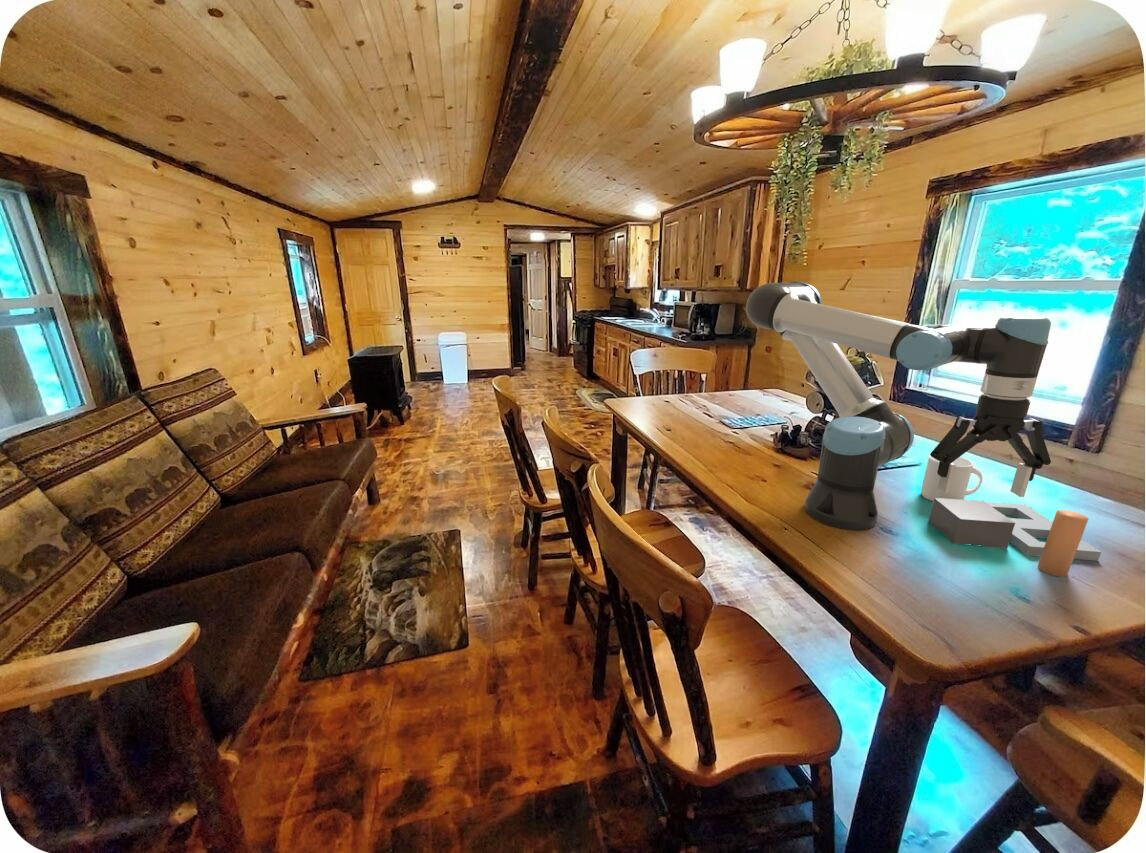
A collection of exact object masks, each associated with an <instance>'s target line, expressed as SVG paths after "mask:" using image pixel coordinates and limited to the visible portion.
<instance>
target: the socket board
mask: <svg viewBox="0 0 1146 853" xmlns="http://www.w3.org/2000/svg"><path fill="white" fill-rule="evenodd" d="M985 502H986V503H987V504H989V505H990V506H992V507H993V508H994V509H996V510H997V511H999V512H1000V513H1002V514H1003V515H1005V516H1012V517H1008V518H1009V519H1010V520H1012V521H1013V522H1015V525H1014V529H1013V532H1012V535H1011V538H1010V541H1009V543H1010V544H1012V545H1013V546H1015V547H1016V548H1017V549H1018V550H1020V551H1021V552H1022V553H1024V554H1025V555H1027V556H1034V557H1035V556H1038V557H1041V555H1042V552H1043V549H1044V546H1045V543H1046V541H1040V540H1038V539H1039V538H1040V539H1041V538H1042V539H1047V538H1048V535H1049V532H1050V529H1051V526H1052V523H1053V520H1050V519H1049V518H1047V517H1045V516H1044V515H1042V514H1041V513H1039V512H1037V511H1036V510H1035V509H1033V508H1031V507H1030V506H1027V505H1026V504H1022V503H1021V504H1020V503H1004V502H1003V503H1002V502H990V501H989V502H988V501H985ZM1013 517H1015V518H1013ZM1037 538H1038V539H1037ZM1101 554H1102V551H1101V550H1099V549H1097V548H1096V547H1094V546H1092V545H1091V544H1090V543H1088V542H1086V541H1084V540H1083V539H1081V540H1080V543H1079V546H1078V548H1077V551H1076V554H1075V556H1074V559H1073V560H1075V559H1076V560H1085V561H1096V562H1097V561H1099V559H1100V558H1101Z"/></svg>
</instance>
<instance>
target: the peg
mask: <svg viewBox="0 0 1146 853" xmlns="http://www.w3.org/2000/svg"><path fill="white" fill-rule="evenodd" d="M1088 521H1089V517H1088V516H1086V515H1084V514H1082V513H1080V512H1077V511H1072V510H1066V509H1057V510H1056V512H1055V514H1054V518H1053V520H1052V522H1053V523H1052V526H1051V529H1050V532H1049V535H1048V538H1046V540H1045V542H1046V543H1045V546H1044V549H1043V552H1042V555H1041V556H1040V558H1039V561H1038V564H1037V568H1038V569H1039V570H1040V571H1042V572H1044V573H1046V574H1048V575H1052V576H1055V577H1063V578H1065V577H1067V576H1068V575H1069V572H1070V569H1071V566H1072V564H1073V562H1074V560H1075V559H1074V556H1075V554H1076V551H1077V548H1078V546H1079V543H1080V540H1082V538H1083V534H1084V532H1085V530H1086V527H1087V524H1088Z"/></svg>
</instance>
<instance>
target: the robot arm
mask: <svg viewBox="0 0 1146 853" xmlns="http://www.w3.org/2000/svg"><path fill="white" fill-rule="evenodd" d="M745 313H746V316H747V318H748V319H749V321H750V322H751V323H752V324H753V325H755V326H756V327H758V328H761V329H766V330H771V331H774V332H777V333H778V334H779V335H780V337H781V339H782V340H784V341H790V342H791V343H792V344H793V346H794V347H795V349H796V350H797V352H798V353H799V355H800V357H801V358H802V359H803V362H804V363H805V365H806V366H807V367H808V369H809V371H811V373H812V375H813V376H814V378H815V380H816V381H817V383H818V384H819V386H820V388H821V389H822V390H823V392H824V393H825V395H826V397H827V398H828V399H829V401H830V403H831V404H832V406H833V408H834V409H835V410H836V412H837V414H838V415H839V417H838V418H834V419H832V420H830V421H829V422H828V423H827V424H826V426H825V430H824V433H823V434H822V444H821V451H820V459H819V464H818V470H817V471H818V473H817V477H816V481H815V483H814V484H813V486H812V488H811V490H810V491H809V493H808V495H806V496H807V497H806V499H805V501H804V510H805V512H806V513H807V515H809V516H810V517H811V518H812V519H813V520H816V521H818V522H820V523H821V524H823V525H827V526H830V527H834V528H837V529H843V530H848V531H849V530H851V531H863V530H868V529H871V528H873V527H875V526H876V525H877V522H878V521H877V520H878V516H879V512H878V511H879V510H878V507H877V501H876V497H875V492H874V489H875V485H876V480H877V475H878V470H879V468H880V467H882V466H884V465H886V464H889V463H891V462H894V461H896V460H898V459H900V458H902V457H903V455H905V454H906V453H907V452H908V451H909V450H910V449H911V447H912V446H913V443H914V439H915V432H914V428H913V426H912V424H911V422H910V421H909V420H908V419H907V418H906V417H904V416H903V415H901V414H899V413H895V412H893V410H892V409H891V408H890V406H889V405H888V403H887V402H886V401H885V400H881V399H877V398H875V397H874V396H873V394H872V393H871V392H870V389H869V388H868V387H867V385H866V384H865V382H864V380H862V378H861V376H860V375H859V374H858V372H857V370H855V367H854V366H853V365H852V363H851V362H850V361H849V359H848V358H847V356H846V355H845V353H844V352H843V350H842V349H841V347H840V346H843V347H847V348H851V349H854V350H857V351H862V352H866V353H868V354H873V355H876V356H879V357H884V358H887V359H891V360H894V361H897V362H899V364H901V365H902V366H903V367H905V368H907V369H909V370H912V371H927V370H928V371H929V370H933V369H937V368H938V367H940V366H944V365H947V364H950V363H956V362H957V363H958V362H959V363H969V364H977V365H978V364H980V365H981V364H984V365H986V369H985V372H984V375H983V376H984V377H983V380H982V383H981V387H980V392H981V393H982V394H980V395H979V397H978V401H977V404H976V409H975V413H976V415H975V416H974V418H972V419H971V418H966V417H963V416H957V417H956V419H955V421H954V423H953V426H952V428H951V429H949V431H948V432H947V433H946V434H945V435H944V437H943V438H942V439H941V440H940V442H938V444H937V445H936V446H935V447H934V449H932V451H931V452H930V454H929V456H930V455H931V456H932V457H933V458H935V459H936V460H938V461H940V462H939V467H938V471H937V473H938V475H939V476H940V480H939V484H938V488H939V489H940V490H942V491H943V492H945V493H949V491H950V487H951V483H952V478H953V474H954V470H955V466H956V465H955V464H953V463H952V462H953V461H955V460H956V459H957V458H959V457H961V456H963V455H965V453H967V452H968V451H969V450H971V449H972V448H973V447H975V446H976V445H978V444H981V443H983V442H984V441H988V442H995V441H998V442H1008V443H1009V444H1010V446H1011V447H1012V448H1013V450H1014V451H1015V452H1016V454H1017V455H1018V456H1019V457H1020V460H1022V462H1023V463H1022V462H1019V463H1018V464H1017V466H1016V470H1015V474H1014V477H1013V481H1012V485H1011V488H1010V492H1011V493H1013V494H1015V495H1016V496H1017V497H1020V498H1024V497H1025V494H1026V491H1027V488H1028V486H1029V482H1032V481H1033V480H1034V477H1035V475H1036V474H1035V473H1036V470H1041V469H1042V468H1043V465H1045V466H1049V465H1050V464H1051V462H1052V460H1051V456H1050V454H1049V451H1048V448H1047V444H1046V442H1045V439H1044V435H1043V433H1042V430H1043V421H1041V420H1039V419H1035V418H1033V417H1029V418H1026V417H1027V415H1028V412H1029V408H1030V405H1031V400H1030V399H1029V398H1030V397H1032V396H1033V393H1034V389H1035V386H1036V383H1037V379H1038V376H1039V371H1040V368H1041V364H1042V362H1043V360H1044V356H1045V352H1046V349H1047V346H1048V344H1049V341H1048V340H1049V335H1050V330H1051V324H1052V322H1051V320H1050V319H1049V318H1047V317H1043V316H1029V315H1028V316H1026V315H1025V316H1023V315H1022V316H1002V317H1000V318H999V319H998V320H997V322H996V324H995V325H991V326H990V325H989V326H988V325H987V326H981V325H979V326H978V325H977V326H976V325H975V326H974V325H958V324H948V323H943V324H928V325H926V326H922V325H918V324H911V323H908V322H904V321H899V320H895V319H889V318H885V317H881V316H875V315H871V314H866V313H862V312H858V311H853V310H849V309H845V308H844V309H843V308H841V307H835V306H831V305H826V304H822V297H821V294H820V292H819V291H818V289H817V288H816V287H815V286H813V285H811V284H809V283H806V282H802V281H789V282H768V283H764V284H762V285H760V286H758V287H757V288H755V289H754V290H753V291H752V292H751V293H750V294H749V297H748V298H747V300H746V305H745ZM839 345H840V346H839ZM1024 418H1026V419H1024ZM972 427H973V428H972ZM971 428H972V429H971ZM970 429H971V430H970ZM1022 429H1024V431H1025V433H1026V434H1025V435H1026V437H1027V440H1028V444H1029V446H1030V448H1031V450H1030V449H1029V448H1028V446H1027V444H1025V442H1024V439H1023V438H1022V437H1021V435H1020V434H1019V433H1018V432H1020V431H1021V430H1022ZM968 430H969V431H968ZM967 431H968V432H967ZM965 434H966V435H965ZM964 435H965V436H964ZM962 437H963V438H962Z"/></svg>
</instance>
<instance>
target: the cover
mask: <svg viewBox="0 0 1146 853" xmlns="http://www.w3.org/2000/svg"><path fill="white" fill-rule="evenodd" d="M986 502H987V501H984V500H975V499H974V500H973V499H964V500H959V499H943V498H934V501H932V506H931V509H930V512H929V517H928V522H929V523H930V524H931V525H932V526H934V528H935V529H937V530H938V531H939V532H940V533H941V534H942V535H943V536H944V537H945V538H947V539H948V540H949V541H950V542H951V543H952V544H953V545H961V544H971V545H970V546H974V545H981V546H980V547H986V546H988V547H989V548H999V549H1000V548H1002V549H1008V547H1009V543H1010V542H1009V541H1010V538H1011V535H1012V532H1013V529H1014V525H1015V522H1013V521H1012V520H1010V519H1009V518H1010V517H1008V516H1007V515H1003V514H1002V513H1000V512H999V511H997V510H996V509H994V508H993V507H992V506H990V505H989V504H987V503H986ZM988 547H987V548H988Z"/></svg>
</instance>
